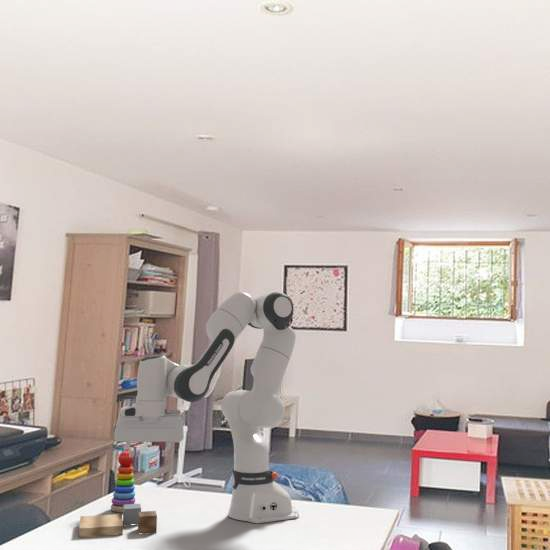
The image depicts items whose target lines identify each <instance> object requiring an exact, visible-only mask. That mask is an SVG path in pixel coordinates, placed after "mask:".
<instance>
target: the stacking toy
mask: <svg viewBox="0 0 550 550" xmlns="http://www.w3.org/2000/svg"><path fill="white" fill-rule="evenodd" d="M129 454H130V452H129V450H124V451H122V452H121V453H119V455H118V457H117V459H118V460H117V461H118V463H119V464H120V465H119V466H118V468H117V473H116V480H115V486H114V488H113V489H114V492H113V494H112V495H113V497H112V499H111V503H112V504H111V505H110V509H111V511H113V512H114V513H123V506H124V505H125V504H136V498H135V496H136V491H135V487H136V486H135V485H134V483H135V479H134V473H133V471H134V466H133V465H132V464H133V463H134V461H135V456H134V457H131V458H129Z"/></svg>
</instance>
